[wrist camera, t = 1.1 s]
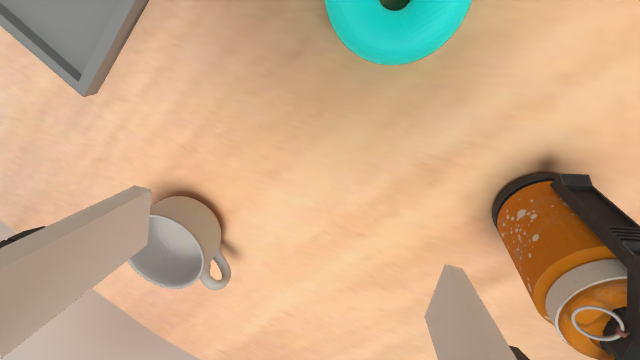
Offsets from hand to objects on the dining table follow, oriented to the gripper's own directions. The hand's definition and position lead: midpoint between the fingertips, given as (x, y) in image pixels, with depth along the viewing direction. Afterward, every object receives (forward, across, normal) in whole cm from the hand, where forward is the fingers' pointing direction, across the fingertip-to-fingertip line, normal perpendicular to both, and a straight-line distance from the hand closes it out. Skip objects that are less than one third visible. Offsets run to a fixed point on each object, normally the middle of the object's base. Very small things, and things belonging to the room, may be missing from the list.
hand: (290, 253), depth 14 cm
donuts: (+21, +3, +16) cm, 27 cm away
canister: (+23, +23, 0) cm, 33 cm away
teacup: (+29, -15, -16) cm, 36 cm away
